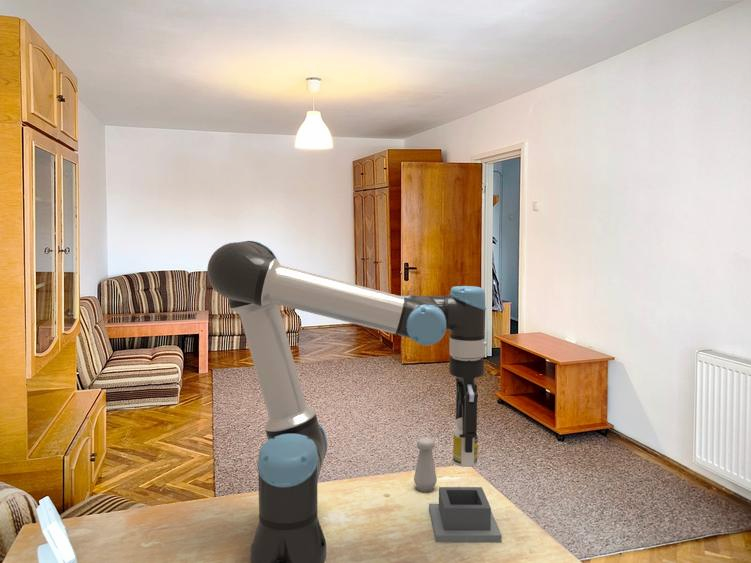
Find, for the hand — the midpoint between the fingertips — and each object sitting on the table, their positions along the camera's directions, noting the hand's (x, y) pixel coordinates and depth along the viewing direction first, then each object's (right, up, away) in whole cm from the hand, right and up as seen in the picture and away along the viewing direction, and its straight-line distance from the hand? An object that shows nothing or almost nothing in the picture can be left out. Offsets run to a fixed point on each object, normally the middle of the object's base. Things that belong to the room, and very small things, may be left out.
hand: (465, 459), depth 126 cm
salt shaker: (-7, -14, +19) cm, 25 cm away
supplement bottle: (0, -1, 0) cm, 1 cm away
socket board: (0, -15, +1) cm, 15 cm away
